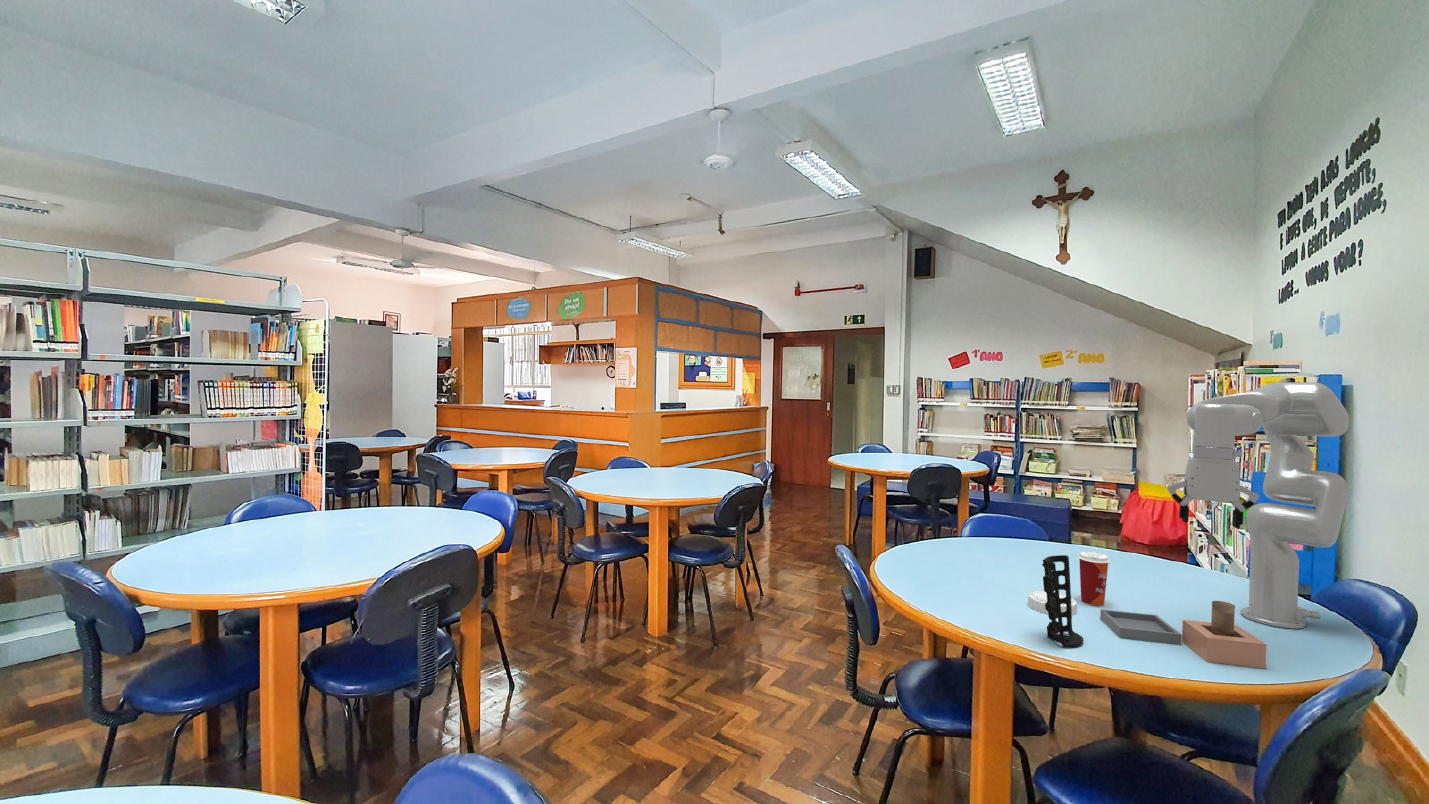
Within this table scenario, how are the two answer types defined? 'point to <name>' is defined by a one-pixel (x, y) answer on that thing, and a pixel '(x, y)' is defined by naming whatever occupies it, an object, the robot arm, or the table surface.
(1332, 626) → the table surface
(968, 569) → the table surface
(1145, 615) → the tray
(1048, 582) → the holder
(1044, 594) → the mooncake
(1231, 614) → the dowel pin
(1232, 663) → the well block
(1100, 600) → the paper cup
